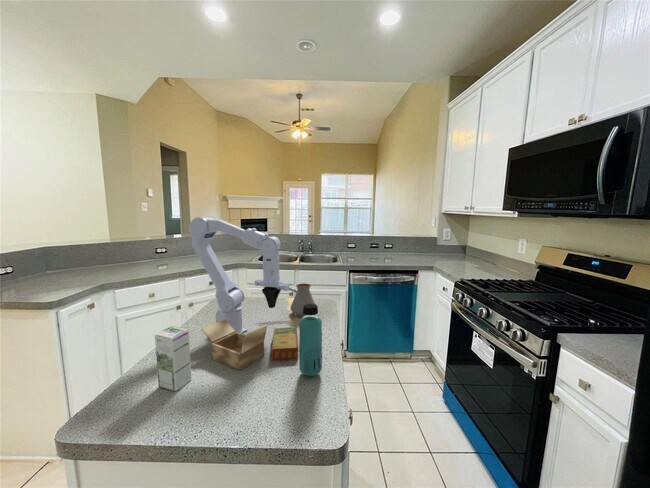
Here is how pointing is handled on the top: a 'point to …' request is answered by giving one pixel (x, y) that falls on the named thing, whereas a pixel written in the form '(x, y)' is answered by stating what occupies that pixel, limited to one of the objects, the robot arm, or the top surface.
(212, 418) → the top surface
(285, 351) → the carton
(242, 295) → the robot arm
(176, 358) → the syrup box
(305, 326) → the beverage bottle
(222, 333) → the flap
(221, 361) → the cardboard box
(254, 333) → the flap
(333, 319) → the top surface
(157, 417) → the top surface
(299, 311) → the coffee pot
